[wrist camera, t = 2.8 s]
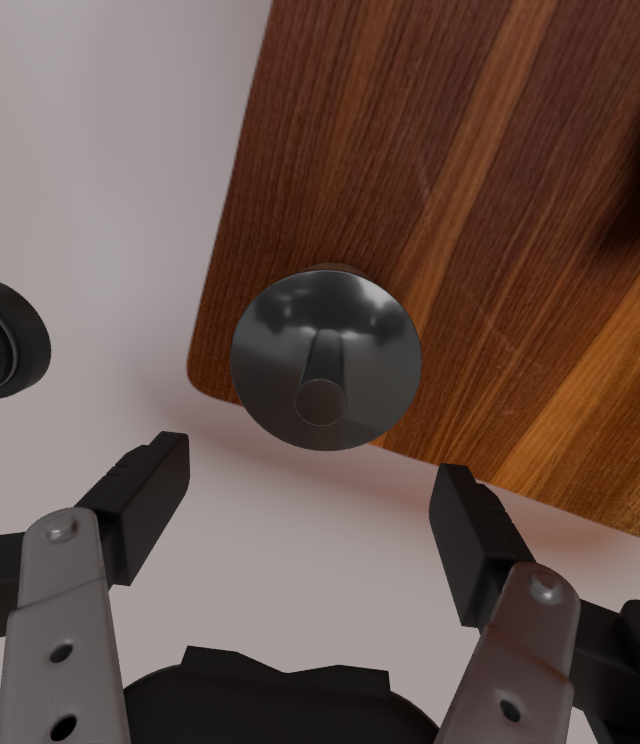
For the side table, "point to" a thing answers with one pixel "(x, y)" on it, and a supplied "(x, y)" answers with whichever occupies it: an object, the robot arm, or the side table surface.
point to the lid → (325, 360)
